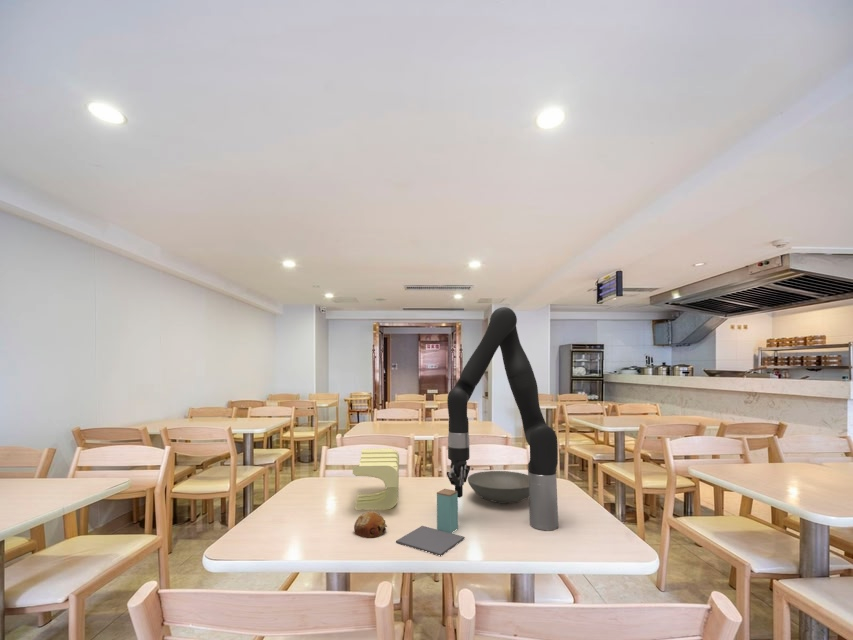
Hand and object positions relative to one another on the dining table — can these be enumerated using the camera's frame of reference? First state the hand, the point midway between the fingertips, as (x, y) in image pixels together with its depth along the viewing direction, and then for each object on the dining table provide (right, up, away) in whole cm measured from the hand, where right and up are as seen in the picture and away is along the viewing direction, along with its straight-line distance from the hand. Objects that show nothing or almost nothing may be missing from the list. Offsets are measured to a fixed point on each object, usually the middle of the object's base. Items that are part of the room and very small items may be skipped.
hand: (458, 496), depth 141 cm
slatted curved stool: (-30, -11, +18) cm, 37 cm away
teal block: (-4, -8, -7) cm, 11 cm away
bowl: (+20, -11, +22) cm, 32 cm away
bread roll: (-29, -8, -9) cm, 31 cm away
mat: (-10, -7, -16) cm, 20 cm away
